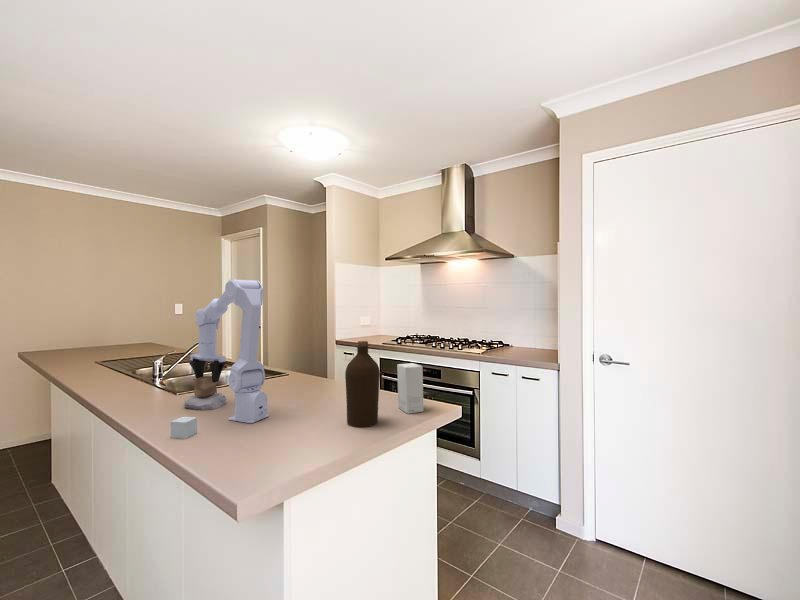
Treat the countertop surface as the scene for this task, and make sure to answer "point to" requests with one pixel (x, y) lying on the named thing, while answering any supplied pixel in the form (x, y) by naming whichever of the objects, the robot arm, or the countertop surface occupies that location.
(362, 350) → the olive oil
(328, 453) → the countertop surface
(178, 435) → the blue-grey block
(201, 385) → the walnut block
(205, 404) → the stone block
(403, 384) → the skincare box
